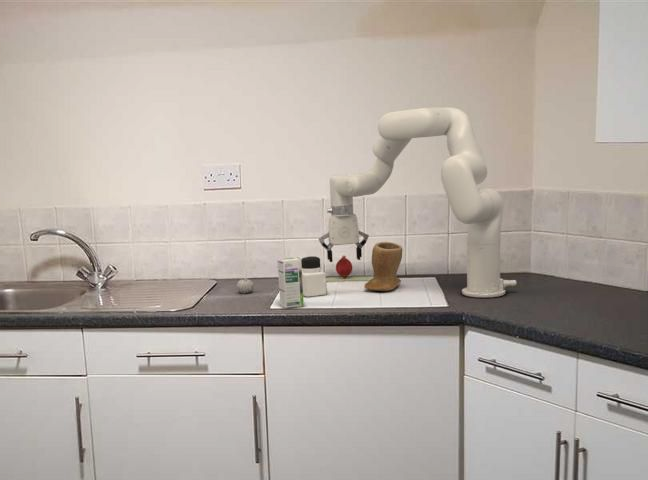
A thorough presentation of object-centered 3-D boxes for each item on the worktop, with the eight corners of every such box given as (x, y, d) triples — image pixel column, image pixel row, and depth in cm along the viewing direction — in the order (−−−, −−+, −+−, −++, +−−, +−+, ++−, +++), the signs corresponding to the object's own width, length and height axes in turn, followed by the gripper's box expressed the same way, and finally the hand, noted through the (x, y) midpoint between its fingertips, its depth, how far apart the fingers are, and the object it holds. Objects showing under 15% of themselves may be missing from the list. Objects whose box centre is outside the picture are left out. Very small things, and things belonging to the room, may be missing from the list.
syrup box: (285, 308, 224) (283, 260, 221) (279, 304, 230) (277, 257, 227) (303, 306, 226) (301, 258, 223) (297, 302, 231) (295, 255, 228)
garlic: (252, 294, 247) (251, 278, 246) (236, 295, 248) (235, 279, 247) (254, 290, 253) (253, 275, 252) (238, 291, 254) (237, 276, 253)
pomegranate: (352, 279, 261) (351, 256, 260) (335, 280, 262) (334, 257, 261) (353, 276, 267) (352, 254, 265) (336, 276, 268) (336, 254, 266)
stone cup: (397, 294, 235) (396, 246, 232) (360, 292, 241) (359, 245, 238) (410, 284, 249) (409, 239, 246) (375, 283, 254) (374, 239, 251)
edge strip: (373, 276, 266) (373, 276, 266) (373, 280, 260) (373, 279, 260) (316, 278, 269) (316, 277, 269) (315, 281, 263) (315, 280, 263)
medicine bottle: (327, 294, 241) (325, 257, 238) (306, 297, 238) (305, 259, 236) (317, 290, 247) (315, 254, 245) (297, 293, 245) (295, 256, 242)
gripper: (318, 213, 256) (321, 264, 259) (369, 210, 257) (371, 260, 260) (315, 212, 263) (318, 260, 267) (365, 208, 264) (367, 257, 267)
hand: (344, 260), depth 263 cm, fingers open, 9 cm apart
